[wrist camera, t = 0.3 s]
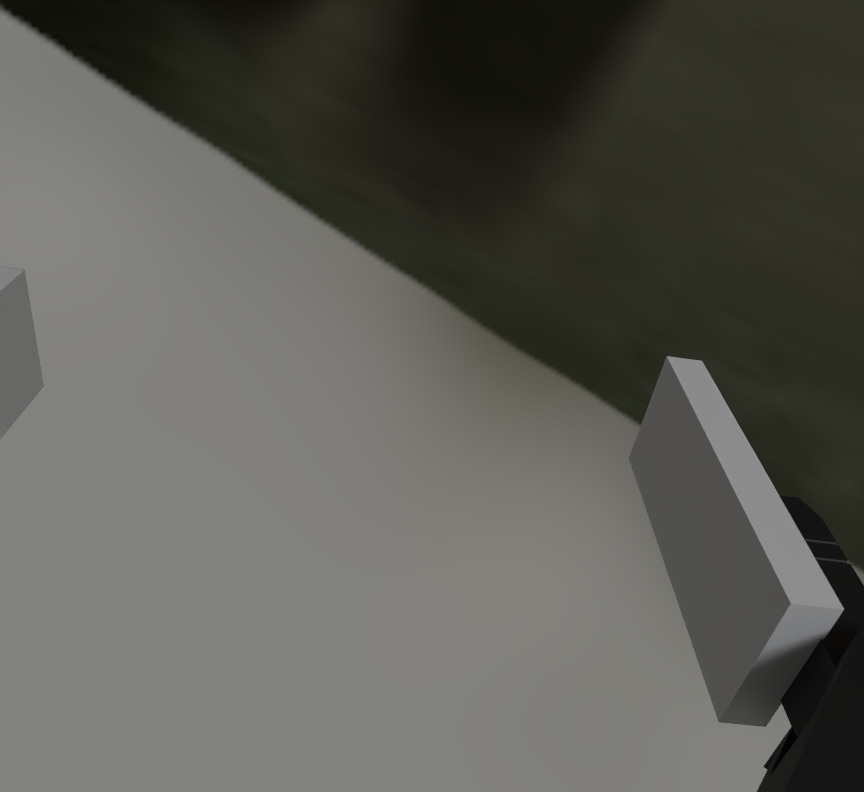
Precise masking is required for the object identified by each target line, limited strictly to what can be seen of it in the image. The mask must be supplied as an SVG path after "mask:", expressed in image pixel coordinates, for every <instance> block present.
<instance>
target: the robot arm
mask: <svg viewBox="0 0 864 792" xmlns="http://www.w3.org/2000/svg"><path fill="white" fill-rule="evenodd" d="M43 386H44V385H43V379H42V374H41V367H40V361H39V355H38V349H37V343H36V337H35V331H34V325H33V319H32V313H31V307H30V301H29V295H28V289H27V283H26V277H25V271H24V270H22V269H15V268H7V267H0V439H1V438H2V436H3V435H4V434H5V433H6V432H7V430H8V429H9V428H10V427H11V425H12V424H13V423H14V422H15V421H16V419H17V418H18V417H19V416H20V414H21V413H22V412H23V411H24V410H25V408H26V407H27V406H28V405H29V403H30V402H31V401H32V400H33V398H34V397H35V396H36V395H37V394H38V392H39V391H40V390H41V389H42V388H43ZM629 460H630V463H631V466H632V469H633V472H634V475H635V478H636V481H637V484H638V487H639V489H640V492H641V495H642V498H643V501H644V504H645V507H646V510H647V513H648V516H649V519H650V522H651V524H652V528H653V531H654V534H655V536H656V539H657V542H658V545H659V548H660V551H661V554H662V557H663V559H664V563H665V566H666V569H667V572H668V575H669V577H670V580H671V583H672V586H673V589H674V592H675V595H676V598H677V601H678V604H679V607H680V609H681V612H682V616H683V618H684V621H685V624H686V627H687V630H688V633H689V636H690V639H691V642H692V645H693V648H694V650H695V654H696V656H697V659H698V662H699V665H700V668H701V671H702V674H703V677H704V680H705V683H706V686H707V689H708V692H709V695H710V697H711V701H712V703H713V706H714V709H715V712H716V715H717V718H718V721H719V722H724V723H734V724H745V725H754V726H764V727H765V726H767V724H768V722H769V721H770V720H771V718H772V716H773V715H774V713H775V712H776V710H777V709H778V708H779V706H780V705H781V703H782V705H783V707H784V709H785V712H786V714H787V717H788V719H789V721H790V723H791V726H792V727H791V728H790V730H789V731H788V733H787V734H786V736H785V737H784V738H783V740H782V741H781V743H780V744H779V745H778V747H777V748H776V750H775V751H774V753H773V754H772V755H771V757H770V758H769V760H768V761H767V763H766V764H765V765H764V767H765V768H766V769H768V770H767V772H766V774H765V777H764V778H763V781H762V783H761V785H760V786H759V789H758V791H757V792H864V585H863V584H862V582H861V580H860V579H859V577H858V576H857V574H856V572H855V571H854V569H853V568H852V566H851V564H847V560H848V559H847V558H846V556H845V555H844V553H843V551H842V550H841V548H840V547H839V546H837V545H836V540H835V539H834V537H833V535H832V534H831V532H830V531H829V529H828V527H827V526H826V524H825V522H824V521H823V519H822V518H821V517H820V516H819V515H817V514H816V513H815V512H814V511H813V510H812V509H811V508H810V507H809V506H808V505H806V504H805V503H804V502H803V501H802V500H801V499H800V498H797V497H788V496H780V495H778V493H777V491H776V489H775V488H774V486H773V484H772V482H771V481H770V479H769V477H768V475H767V474H766V472H765V470H764V468H763V467H762V465H761V463H760V461H759V460H758V458H757V456H756V454H755V453H754V451H753V449H752V447H751V446H750V444H749V442H748V440H747V439H746V437H745V435H744V434H743V432H742V430H741V428H740V427H739V425H738V423H737V421H736V420H735V418H734V416H733V414H732V413H731V411H730V409H729V407H728V406H727V404H726V402H725V400H724V399H723V397H722V395H721V393H720V392H719V390H718V388H717V386H716V385H715V383H714V381H713V379H712V378H711V376H710V374H709V372H708V371H707V369H706V367H705V365H704V364H703V362H702V361H698V360H691V359H683V358H676V357H668V356H667V357H666V360H665V363H664V365H663V368H662V371H661V373H660V376H659V379H658V381H657V384H656V387H655V390H654V392H653V395H652V398H651V400H650V403H649V406H648V408H647V411H646V414H645V416H644V419H643V422H642V424H641V427H640V430H639V433H638V435H637V438H636V441H635V443H634V446H633V449H632V451H631V454H630V457H629Z"/></svg>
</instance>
